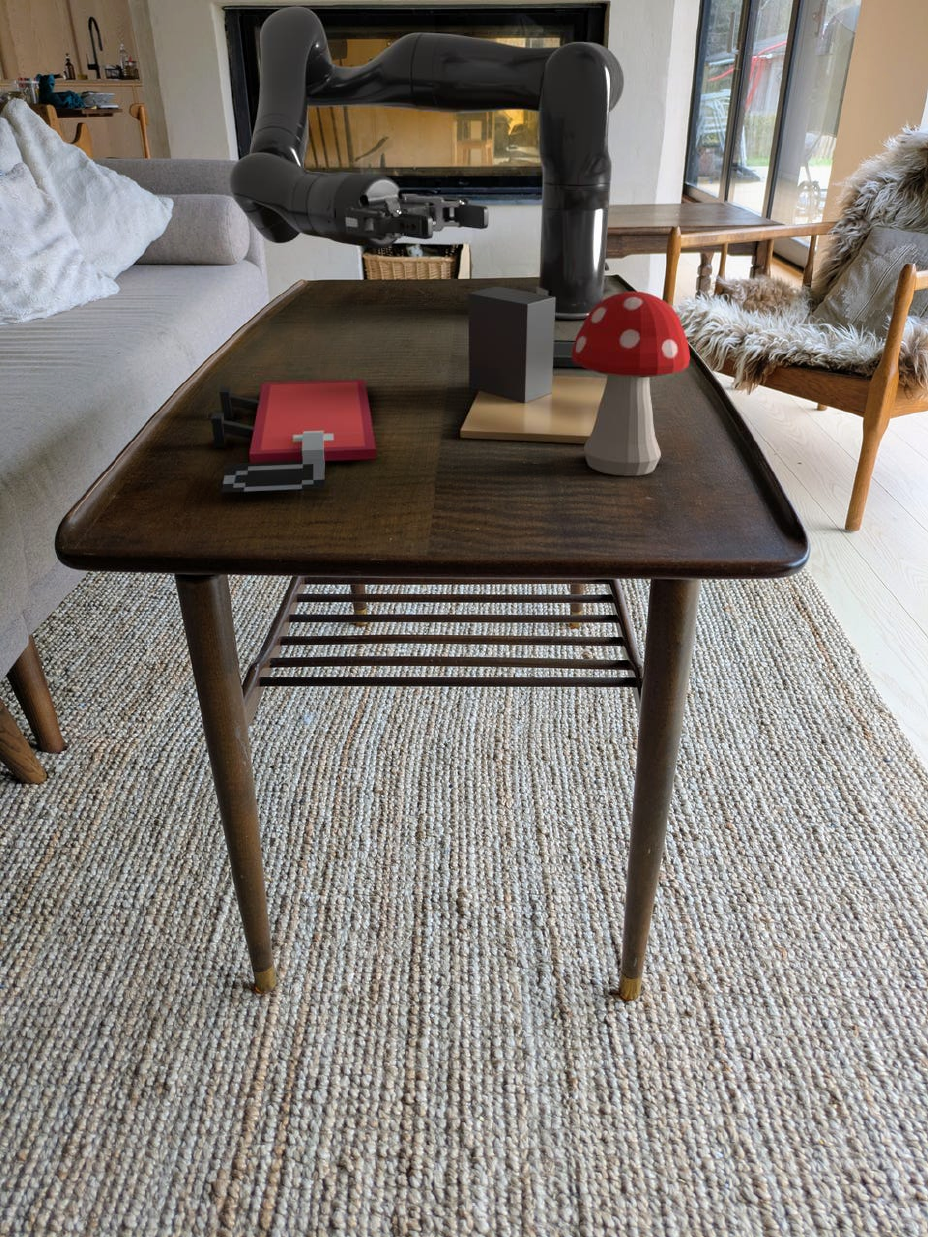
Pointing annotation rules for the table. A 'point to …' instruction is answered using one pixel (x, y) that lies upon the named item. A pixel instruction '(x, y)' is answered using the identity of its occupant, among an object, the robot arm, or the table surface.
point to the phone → (563, 353)
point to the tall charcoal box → (511, 343)
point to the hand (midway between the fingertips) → (459, 222)
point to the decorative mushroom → (628, 376)
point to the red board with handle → (296, 433)
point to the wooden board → (539, 413)
